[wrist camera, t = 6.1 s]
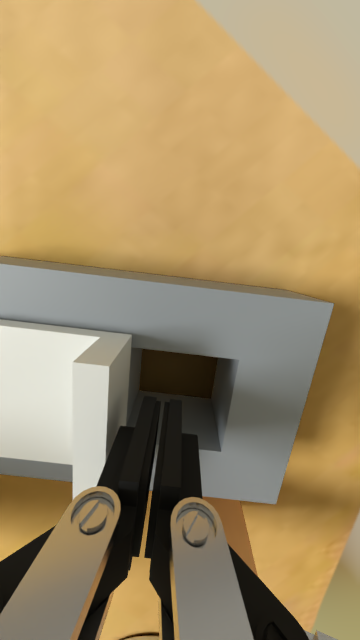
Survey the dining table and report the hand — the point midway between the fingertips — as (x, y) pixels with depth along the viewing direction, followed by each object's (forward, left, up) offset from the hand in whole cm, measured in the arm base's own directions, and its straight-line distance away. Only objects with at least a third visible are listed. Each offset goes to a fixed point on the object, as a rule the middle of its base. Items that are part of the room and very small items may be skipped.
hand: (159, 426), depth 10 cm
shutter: (0, +5, -2) cm, 6 cm away
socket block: (0, +3, -7) cm, 7 cm away
